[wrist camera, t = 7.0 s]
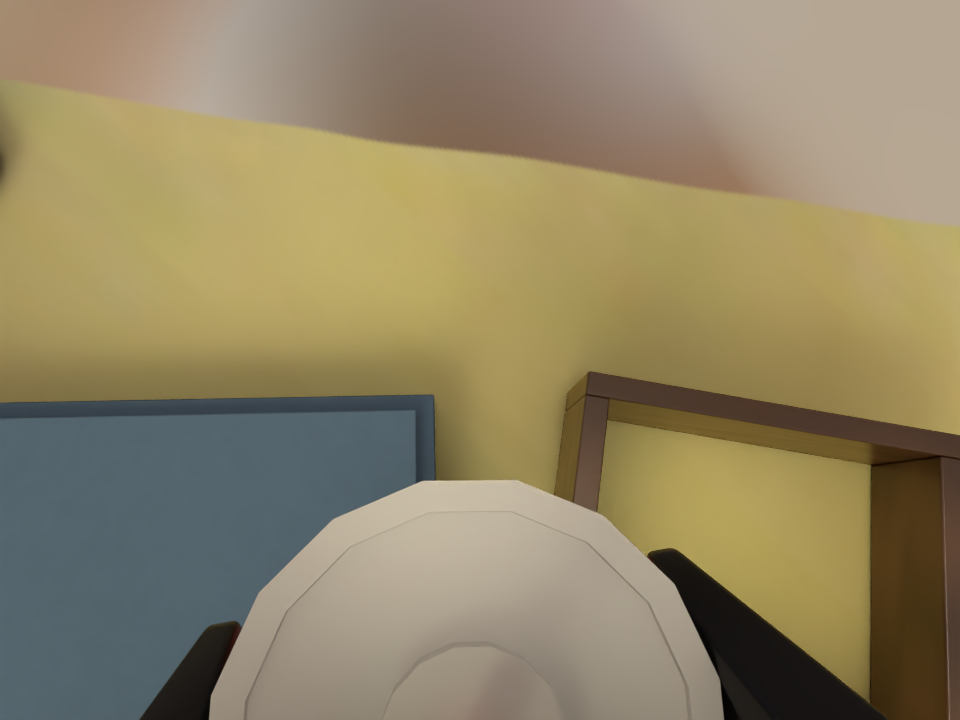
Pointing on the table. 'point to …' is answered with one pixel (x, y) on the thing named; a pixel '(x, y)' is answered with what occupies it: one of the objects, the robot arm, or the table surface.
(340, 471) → the blue square platform
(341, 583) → the beverage cup
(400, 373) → the table surface
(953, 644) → the open box
